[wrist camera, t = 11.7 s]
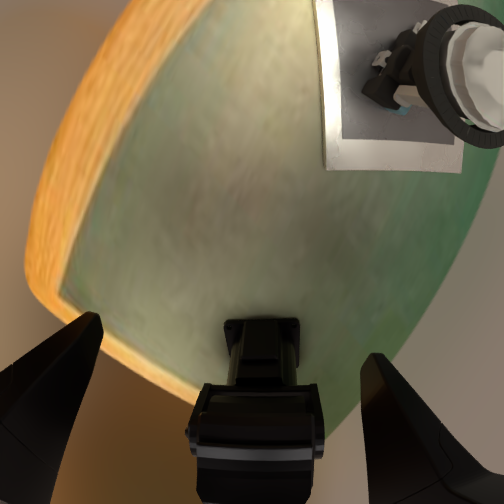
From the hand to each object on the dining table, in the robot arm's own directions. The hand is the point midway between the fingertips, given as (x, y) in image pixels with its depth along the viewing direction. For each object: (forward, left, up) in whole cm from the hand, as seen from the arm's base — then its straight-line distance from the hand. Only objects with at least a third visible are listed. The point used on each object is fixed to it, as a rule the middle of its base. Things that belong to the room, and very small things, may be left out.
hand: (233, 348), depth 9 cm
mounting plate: (+9, -10, -13) cm, 19 cm away
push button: (+9, -9, -12) cm, 17 cm away
